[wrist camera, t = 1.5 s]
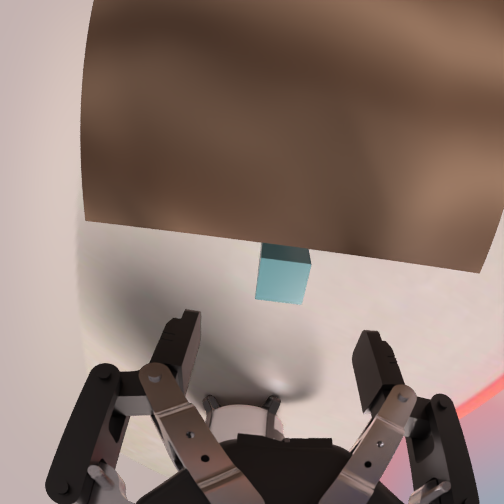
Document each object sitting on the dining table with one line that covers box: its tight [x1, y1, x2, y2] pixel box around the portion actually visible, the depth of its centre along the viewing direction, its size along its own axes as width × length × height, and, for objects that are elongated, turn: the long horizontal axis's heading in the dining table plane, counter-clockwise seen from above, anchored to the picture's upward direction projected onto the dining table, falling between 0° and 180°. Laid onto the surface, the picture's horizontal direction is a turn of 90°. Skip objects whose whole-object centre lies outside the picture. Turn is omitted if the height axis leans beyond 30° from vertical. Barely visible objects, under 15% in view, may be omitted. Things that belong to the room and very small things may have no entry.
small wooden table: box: [80, 0, 504, 273], centre depth 15 cm, size 16×20×14 cm
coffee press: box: [203, 395, 303, 443], centre depth 29 cm, size 17×16×30 cm
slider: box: [255, 243, 311, 305], centre depth 19 cm, size 20×12×10 cm, turn 174°
